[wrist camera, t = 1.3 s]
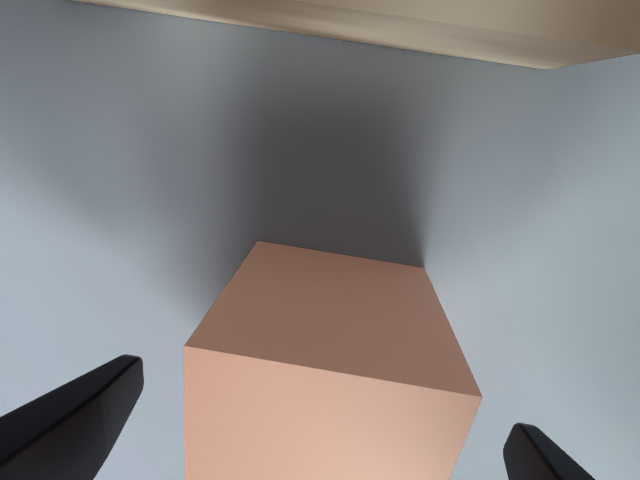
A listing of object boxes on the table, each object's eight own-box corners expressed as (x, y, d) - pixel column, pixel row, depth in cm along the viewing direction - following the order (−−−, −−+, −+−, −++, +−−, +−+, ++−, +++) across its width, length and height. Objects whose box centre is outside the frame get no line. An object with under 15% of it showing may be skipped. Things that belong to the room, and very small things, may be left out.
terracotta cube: (423, 266, 10) (482, 396, 6) (388, 394, 12) (411, 573, 8) (258, 239, 11) (184, 345, 6) (247, 370, 12) (184, 530, 8)
